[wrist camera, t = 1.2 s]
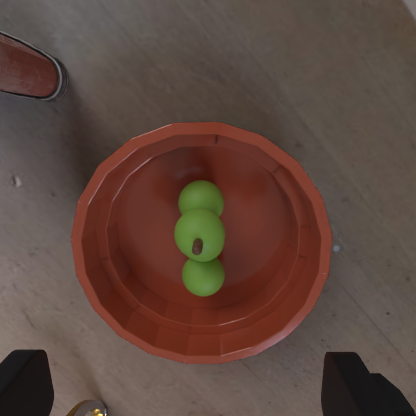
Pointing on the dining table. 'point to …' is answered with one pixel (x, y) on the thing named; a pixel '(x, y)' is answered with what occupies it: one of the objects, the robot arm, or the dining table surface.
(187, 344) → the bowl
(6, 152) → the dining table surface
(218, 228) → the grapes
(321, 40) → the dining table surface
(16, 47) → the lighter
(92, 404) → the ring
